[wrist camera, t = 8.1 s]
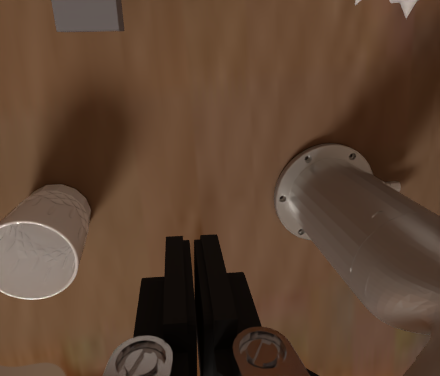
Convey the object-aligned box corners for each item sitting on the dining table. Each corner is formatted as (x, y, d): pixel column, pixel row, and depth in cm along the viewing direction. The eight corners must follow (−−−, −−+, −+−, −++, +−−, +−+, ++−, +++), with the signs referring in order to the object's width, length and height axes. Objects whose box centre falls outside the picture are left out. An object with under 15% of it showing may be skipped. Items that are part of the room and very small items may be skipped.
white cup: (22, 173, 36) (-25, 215, 27) (100, 184, 38) (81, 227, 29) (20, 238, 39) (-23, 296, 30) (93, 245, 41) (74, 303, 31)
